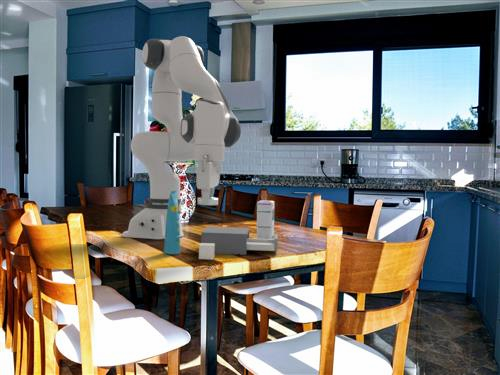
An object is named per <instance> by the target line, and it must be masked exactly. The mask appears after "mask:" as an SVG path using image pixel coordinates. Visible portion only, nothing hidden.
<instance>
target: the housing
mask: <svg viewBox="0 0 500 375" xmlns="http://www.w3.org/2000/svg"><path fill="white" fill-rule="evenodd" d="M247 238H250V227H236V226H235V227H232V226H231V227H229V226H207V227H206V228H204V229H203V230H202V231H201V232H200V244H201V243H215V255H217V254H218V255H237V254H240V255H243V256H245V255H247V254H248V251H249V250H246V247H247Z"/></svg>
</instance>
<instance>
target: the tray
mask: <svg viewBox="0 0 500 375" xmlns="http://www.w3.org/2000/svg"><path fill="white" fill-rule="evenodd" d="M278 237H279V236H278V233H274V239H257V238H250V237H249V238H247V247H246V250H248V251H265V252H266V251H268V252H269V251H270V252H271V251H272V252H278V243H279V242H278V241H279V240H278Z"/></svg>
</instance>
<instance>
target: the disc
mask: <svg viewBox="0 0 500 375" xmlns="http://www.w3.org/2000/svg"><path fill="white" fill-rule="evenodd" d="M197 205H199V206H218V205H219V197H215V196H213V197H209V204H207V205H205V204H203V203H202V196H200V197H197Z"/></svg>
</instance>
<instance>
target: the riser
mask: <svg viewBox="0 0 500 375" xmlns="http://www.w3.org/2000/svg"><path fill="white" fill-rule="evenodd" d="M215 256H216V254H215V243H201V242H200V244H199V246H198V260H214V259H215Z"/></svg>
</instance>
